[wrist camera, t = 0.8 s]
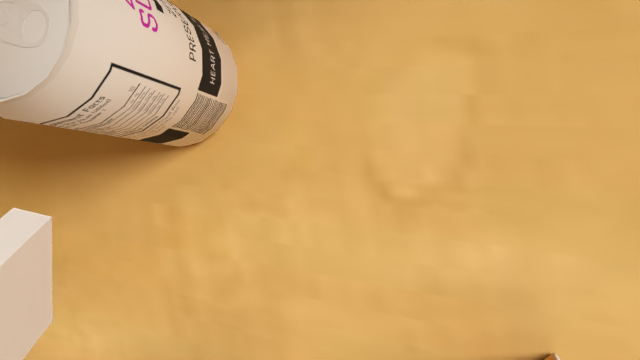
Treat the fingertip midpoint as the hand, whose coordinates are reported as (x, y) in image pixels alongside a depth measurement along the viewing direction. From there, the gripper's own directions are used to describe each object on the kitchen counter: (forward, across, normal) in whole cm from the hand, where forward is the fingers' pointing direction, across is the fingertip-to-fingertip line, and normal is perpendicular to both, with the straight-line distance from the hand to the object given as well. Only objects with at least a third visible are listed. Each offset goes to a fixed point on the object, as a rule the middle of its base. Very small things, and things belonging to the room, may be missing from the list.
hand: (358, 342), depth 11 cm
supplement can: (+26, -11, -6) cm, 29 cm away
